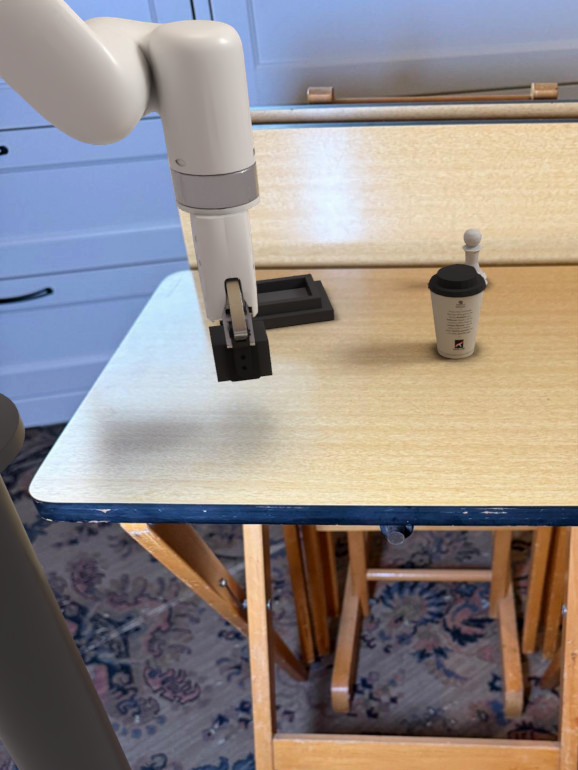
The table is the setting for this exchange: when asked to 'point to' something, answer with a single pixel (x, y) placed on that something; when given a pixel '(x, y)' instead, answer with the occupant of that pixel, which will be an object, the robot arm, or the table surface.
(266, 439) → the table surface
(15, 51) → the robot arm
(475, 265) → the chess piece
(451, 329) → the coffee cup
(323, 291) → the base pad
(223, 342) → the black block
